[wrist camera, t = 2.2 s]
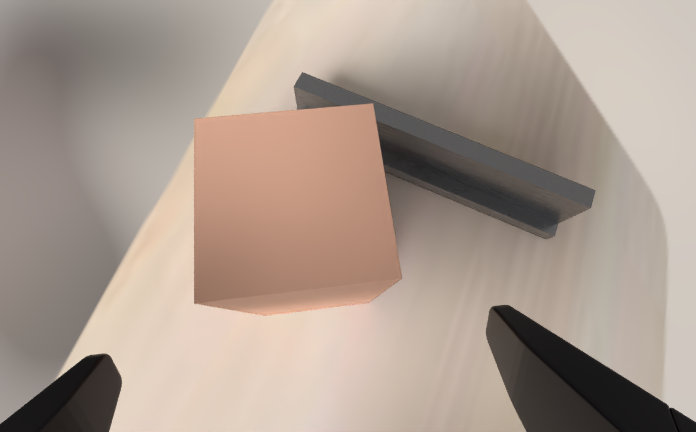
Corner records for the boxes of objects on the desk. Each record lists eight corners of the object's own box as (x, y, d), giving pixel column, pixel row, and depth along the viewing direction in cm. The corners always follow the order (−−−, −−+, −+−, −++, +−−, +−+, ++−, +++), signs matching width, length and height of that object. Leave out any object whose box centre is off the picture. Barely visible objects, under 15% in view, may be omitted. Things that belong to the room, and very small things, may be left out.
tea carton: (368, 302, 19) (401, 278, 10) (264, 315, 19) (194, 303, 9) (354, 203, 21) (372, 99, 11) (258, 213, 21) (194, 114, 11)
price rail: (546, 239, 21) (587, 222, 17) (294, 133, 22) (286, 98, 19) (555, 207, 21) (596, 185, 18) (308, 106, 23) (304, 67, 19)
